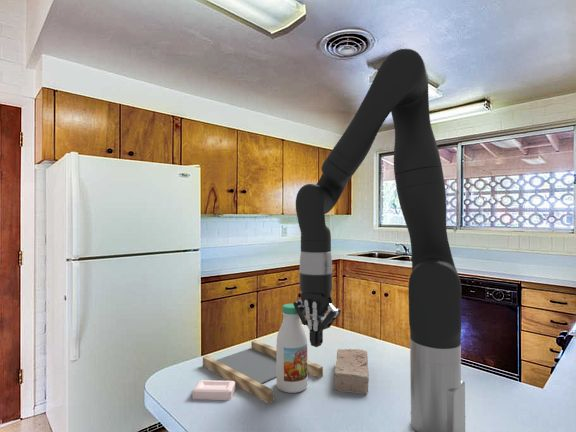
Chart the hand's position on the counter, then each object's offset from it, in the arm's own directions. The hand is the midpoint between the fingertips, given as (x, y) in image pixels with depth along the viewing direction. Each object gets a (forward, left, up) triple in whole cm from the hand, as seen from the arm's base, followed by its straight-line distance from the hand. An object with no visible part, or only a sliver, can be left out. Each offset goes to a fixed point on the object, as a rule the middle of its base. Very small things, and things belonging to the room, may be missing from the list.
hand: (316, 345), depth 79 cm
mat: (+24, 0, -12) cm, 27 cm away
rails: (+20, 0, -12) cm, 23 cm away
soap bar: (+19, +15, -13) cm, 27 cm away
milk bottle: (+8, 0, -12) cm, 15 cm away
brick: (0, -15, -13) cm, 19 cm away
